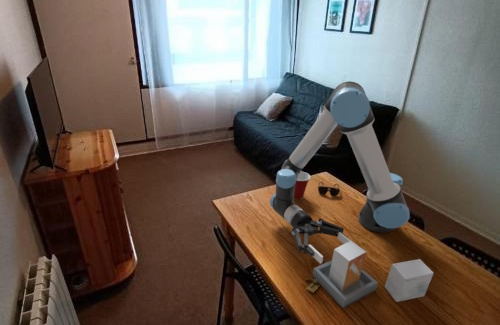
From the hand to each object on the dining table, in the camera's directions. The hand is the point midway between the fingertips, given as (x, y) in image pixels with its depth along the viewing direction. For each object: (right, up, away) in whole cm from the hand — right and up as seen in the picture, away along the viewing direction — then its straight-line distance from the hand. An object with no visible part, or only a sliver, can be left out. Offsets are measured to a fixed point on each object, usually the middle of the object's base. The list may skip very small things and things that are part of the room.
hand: (337, 253), depth 99 cm
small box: (+2, -9, +1) cm, 10 cm away
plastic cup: (-6, +13, +49) cm, 51 cm away
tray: (+2, -10, +1) cm, 10 cm away
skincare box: (+21, -12, -2) cm, 24 cm away
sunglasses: (+11, +15, +55) cm, 59 cm away
